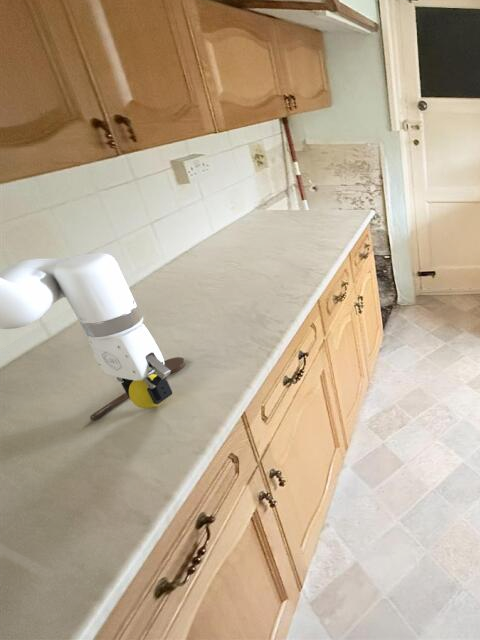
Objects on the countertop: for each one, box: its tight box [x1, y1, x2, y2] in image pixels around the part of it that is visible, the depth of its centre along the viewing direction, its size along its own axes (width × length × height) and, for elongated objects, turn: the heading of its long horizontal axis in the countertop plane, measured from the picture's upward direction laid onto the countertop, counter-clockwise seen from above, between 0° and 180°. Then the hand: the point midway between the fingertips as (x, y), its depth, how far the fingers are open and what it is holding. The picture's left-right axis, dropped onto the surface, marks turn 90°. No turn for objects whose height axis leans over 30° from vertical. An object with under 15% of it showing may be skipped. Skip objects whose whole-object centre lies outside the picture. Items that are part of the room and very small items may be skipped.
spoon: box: [89, 356, 186, 421], centre depth 84 cm, size 18×5×1 cm, turn 167°
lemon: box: [129, 373, 165, 409], centre depth 78 cm, size 6×6×8 cm
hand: (151, 395), depth 79 cm, fingers closed on lemon, 5 cm apart
